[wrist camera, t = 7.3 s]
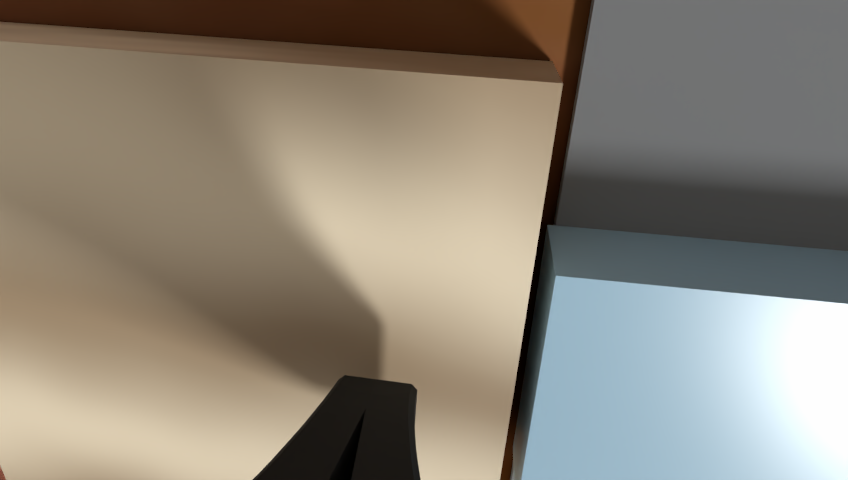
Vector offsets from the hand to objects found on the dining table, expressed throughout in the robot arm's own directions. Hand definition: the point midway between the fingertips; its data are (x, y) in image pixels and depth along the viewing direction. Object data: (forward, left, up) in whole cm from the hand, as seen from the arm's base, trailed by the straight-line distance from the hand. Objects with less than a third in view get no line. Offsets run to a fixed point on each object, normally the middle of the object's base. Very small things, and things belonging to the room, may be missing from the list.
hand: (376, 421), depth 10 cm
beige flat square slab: (0, +3, -3) cm, 5 cm away
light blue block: (0, -7, -3) cm, 8 cm away
